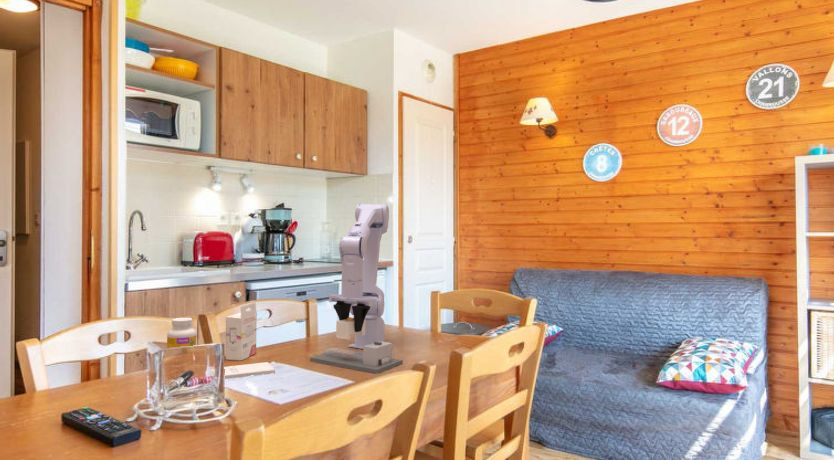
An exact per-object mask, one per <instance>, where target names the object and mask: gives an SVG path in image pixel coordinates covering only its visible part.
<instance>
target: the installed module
mask: <svg viewBox="0 0 834 460" xmlns="http://www.w3.org/2000/svg"><path fill="white" fill-rule="evenodd" d="M362 352H363V364H364V365H369V366H375V367H376V366H378V361H379V359H382V358H385V357H389V362H390V361H392V358H393V342H387V341H385V342H382V341H379V342H374V343H372V344H369V345H366V346H363V349H362Z"/></svg>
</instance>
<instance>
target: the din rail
mask: <svg viewBox="0 0 834 460" xmlns="http://www.w3.org/2000/svg"><path fill="white" fill-rule="evenodd" d="M324 353H325V355H327V356H332V357H338V358H344V359H349V360H355V361H360V362H363V351H357V350H353V349H352V350H351V349H346V348H345V349H344V348H338V347H329V348H326V349H324ZM387 363H389V357H385V358H382V359H379V361H378V365H384V364H387Z"/></svg>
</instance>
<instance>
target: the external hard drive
mask: <svg viewBox="0 0 834 460" xmlns="http://www.w3.org/2000/svg"><path fill="white" fill-rule="evenodd" d="M223 367H224V369H225V379H224V380H226V379H236V378H245V376H246V377H252V376H251V375H255V376H263V375H262V374H264V375H270V374H271V373H273V374H275V372H276V370H275V368H274V367H273V366H272V365H271V364H270V362H269V361H268V362H267V361H266V362H265V361H264V362H258V363H256V362H255V363H248V364H239V365H237V364H236V365H230V366H223ZM271 375H272V374H271Z"/></svg>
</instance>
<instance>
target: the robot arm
mask: <svg viewBox="0 0 834 460" xmlns="http://www.w3.org/2000/svg"><path fill="white" fill-rule="evenodd" d="M389 209H390V208H389V206H388V205H387V203H383V204H381V203H379V204H378V203H377V204H376V203H358V204H356V206H355V210H354V218H355V223H353V224H352V225H351V226H350V228H349V230H348V232H347V233H346V235H344V236H343V237H341V238H340V240H339V244H338V245H339V246H338V248H339V249H338V251H339V256H340V258H339V259H340V260H339V262H340V264H341V291H340V292H341V294H338V293H337V294H336V293H332V294H329V295H328V302H329V303H335V304H333V309H334V310H335V312H336V314H337V317H338V319H339V320H338V321H340V320H345V319H347V318H349V317H350V315H351V316H353V318H354V328H355V332H360V331H361V330H362V326H363V323H364V319H365V335H363V336H361V335H355V334H354V343H351V344H348V347H349V348H356V349H361V350H363V346H366V345H369V344H372V343H374V342H379V341H382V342H386V341H385V334H386V332H385V331H386V324H385V320H384V319H383V317H382V316H383V315H384V313H385V293H384V291H383V289H381V288H380V287H379V286H378V285H377V280H378V279H377V278H378V271H379V269H378V268H379V258H380V249H381V248H380V247H381V240H382V236H383V234H386V233H387V232H388V229H389V221H390V220H389V219H390V210H389Z"/></svg>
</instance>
